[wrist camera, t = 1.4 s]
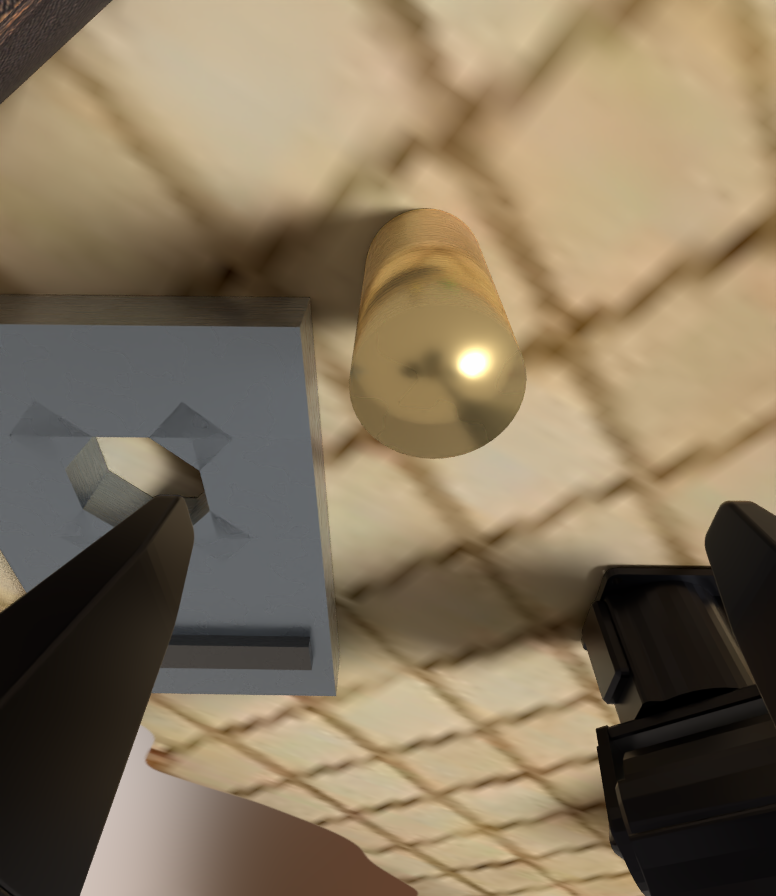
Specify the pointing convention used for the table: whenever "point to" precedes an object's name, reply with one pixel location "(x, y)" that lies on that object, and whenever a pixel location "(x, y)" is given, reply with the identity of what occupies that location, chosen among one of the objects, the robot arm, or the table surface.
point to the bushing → (433, 341)
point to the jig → (196, 442)
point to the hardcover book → (37, 34)
